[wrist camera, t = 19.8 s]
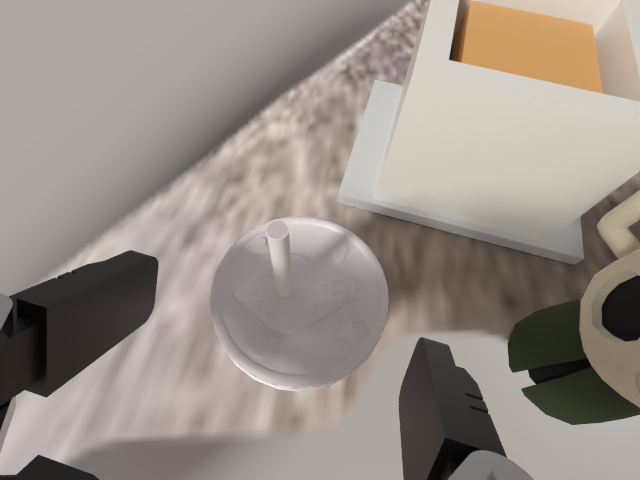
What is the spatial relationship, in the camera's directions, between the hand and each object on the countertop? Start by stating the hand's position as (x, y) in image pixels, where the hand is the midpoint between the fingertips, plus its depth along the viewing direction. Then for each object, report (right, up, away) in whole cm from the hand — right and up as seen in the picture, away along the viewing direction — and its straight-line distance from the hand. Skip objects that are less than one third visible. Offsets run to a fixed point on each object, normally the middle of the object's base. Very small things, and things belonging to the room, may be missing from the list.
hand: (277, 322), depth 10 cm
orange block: (+13, +10, +16) cm, 22 cm away
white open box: (+12, +8, +18) cm, 23 cm away
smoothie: (0, -4, +11) cm, 11 cm away
